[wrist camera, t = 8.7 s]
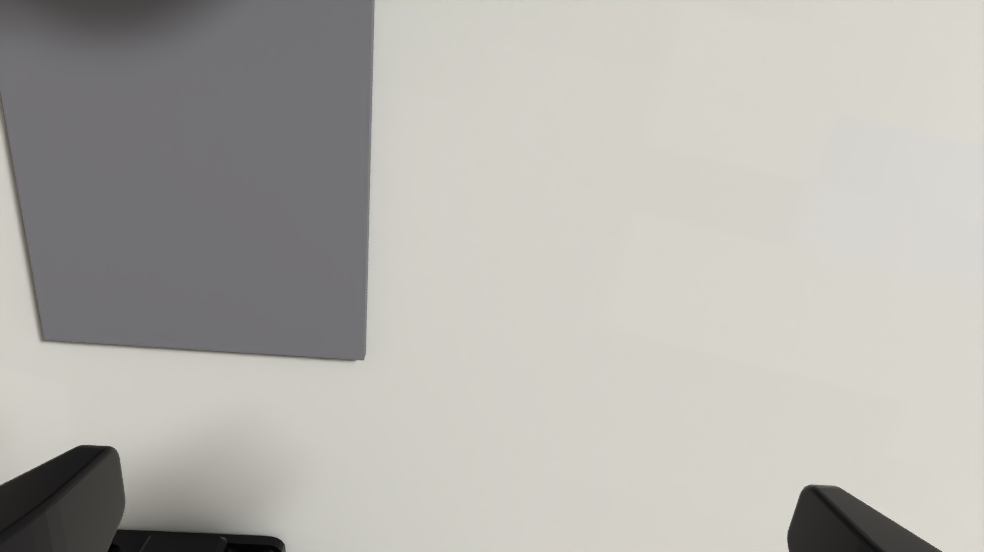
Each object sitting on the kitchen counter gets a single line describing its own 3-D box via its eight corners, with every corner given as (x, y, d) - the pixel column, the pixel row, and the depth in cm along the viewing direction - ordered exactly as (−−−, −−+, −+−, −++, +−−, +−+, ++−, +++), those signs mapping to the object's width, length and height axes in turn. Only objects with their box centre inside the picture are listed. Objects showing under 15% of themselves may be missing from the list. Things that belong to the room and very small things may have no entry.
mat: (365, 354, 22) (363, 360, 22) (51, 333, 21) (44, 340, 21) (375, -46, 18) (373, -48, 17) (-21, -87, 17) (-32, -90, 16)
